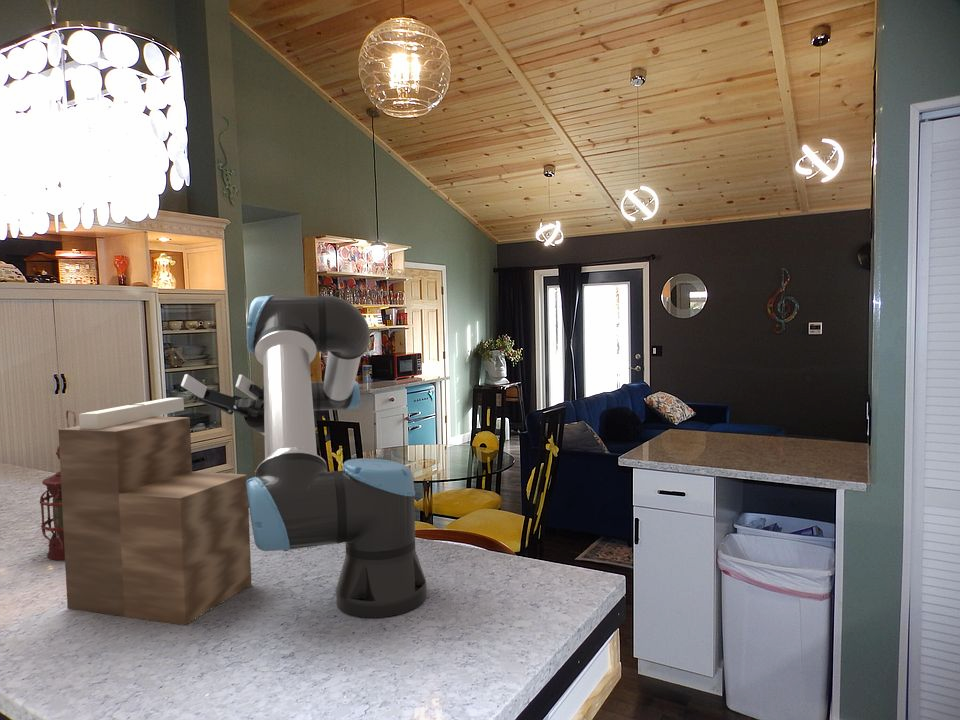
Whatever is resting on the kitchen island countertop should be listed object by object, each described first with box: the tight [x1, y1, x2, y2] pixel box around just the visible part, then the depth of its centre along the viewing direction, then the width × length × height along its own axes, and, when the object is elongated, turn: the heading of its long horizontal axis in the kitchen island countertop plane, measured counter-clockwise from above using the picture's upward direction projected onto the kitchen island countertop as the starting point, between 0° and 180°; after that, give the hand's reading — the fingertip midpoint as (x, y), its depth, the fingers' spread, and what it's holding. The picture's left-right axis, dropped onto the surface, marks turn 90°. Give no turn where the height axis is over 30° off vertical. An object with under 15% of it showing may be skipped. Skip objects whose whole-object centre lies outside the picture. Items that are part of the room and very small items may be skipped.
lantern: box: [39, 409, 77, 561], centre depth 130 cm, size 12×12×30 cm
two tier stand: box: [57, 416, 252, 626], centre depth 107 cm, size 16×24×30 cm, turn 73°
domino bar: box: [78, 397, 185, 429], centre depth 114 cm, size 24×3×3 cm, turn 173°
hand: (210, 380), depth 129 cm, fingers open, 13 cm apart
